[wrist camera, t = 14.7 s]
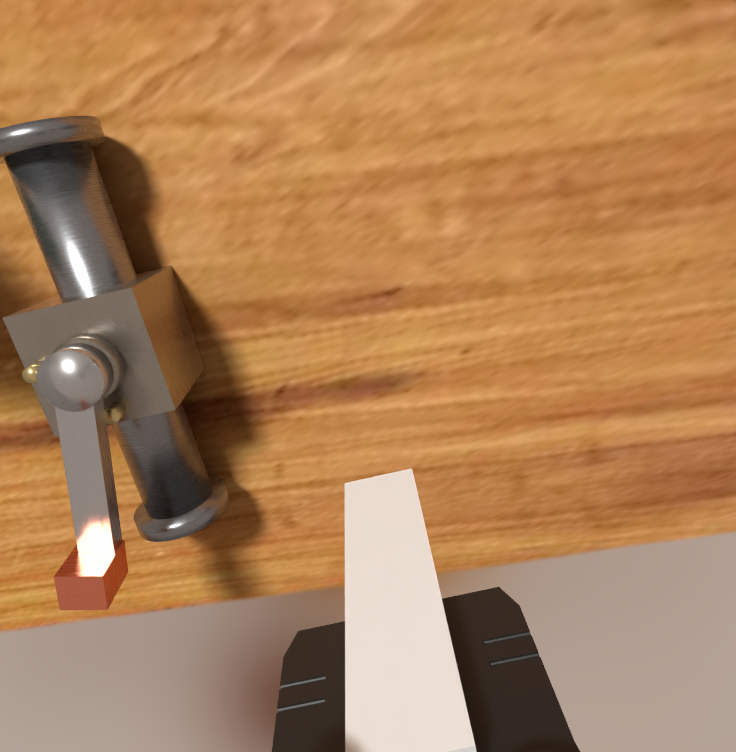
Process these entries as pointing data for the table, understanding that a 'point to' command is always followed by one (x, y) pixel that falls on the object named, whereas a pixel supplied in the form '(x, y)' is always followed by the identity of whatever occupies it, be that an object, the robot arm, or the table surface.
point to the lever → (86, 475)
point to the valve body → (111, 322)
